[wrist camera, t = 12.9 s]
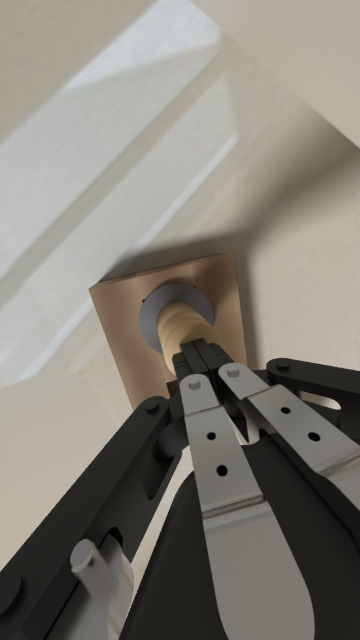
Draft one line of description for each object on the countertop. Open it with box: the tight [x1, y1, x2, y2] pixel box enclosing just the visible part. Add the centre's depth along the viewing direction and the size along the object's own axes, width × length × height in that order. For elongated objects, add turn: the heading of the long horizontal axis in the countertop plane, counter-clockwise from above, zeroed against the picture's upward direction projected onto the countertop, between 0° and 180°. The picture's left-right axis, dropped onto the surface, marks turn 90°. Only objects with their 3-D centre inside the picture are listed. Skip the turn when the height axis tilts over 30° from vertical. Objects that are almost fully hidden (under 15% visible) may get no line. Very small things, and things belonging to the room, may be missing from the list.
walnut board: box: [89, 254, 248, 412], centre depth 23 cm, size 13×18×4 cm
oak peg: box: [139, 283, 224, 376], centre depth 18 cm, size 7×7×11 cm
